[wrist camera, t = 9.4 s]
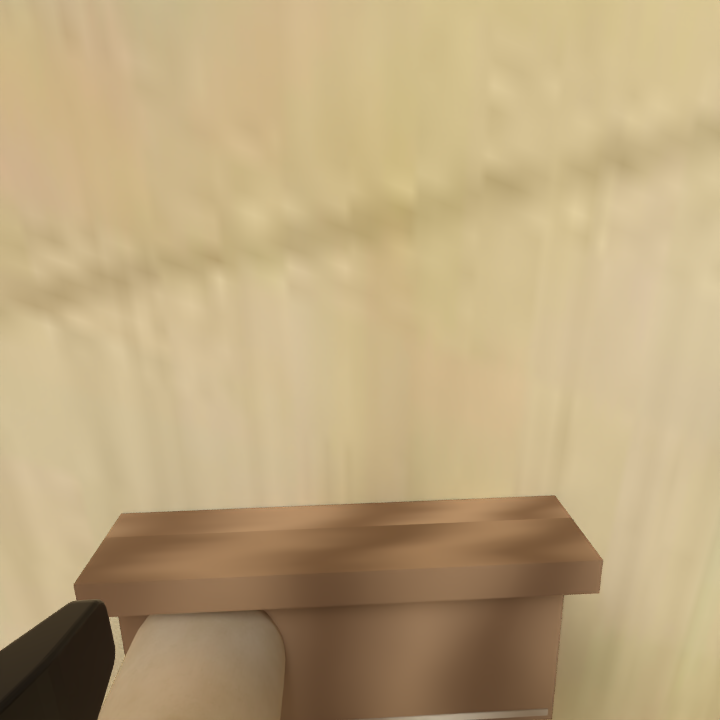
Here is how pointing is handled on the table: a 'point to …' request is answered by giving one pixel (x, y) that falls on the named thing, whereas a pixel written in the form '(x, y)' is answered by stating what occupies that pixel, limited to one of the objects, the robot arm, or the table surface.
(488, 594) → the board
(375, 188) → the table surface
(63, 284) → the table surface
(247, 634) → the candle
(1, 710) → the robot arm
